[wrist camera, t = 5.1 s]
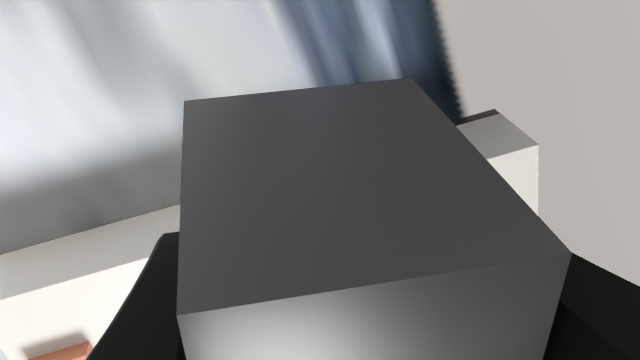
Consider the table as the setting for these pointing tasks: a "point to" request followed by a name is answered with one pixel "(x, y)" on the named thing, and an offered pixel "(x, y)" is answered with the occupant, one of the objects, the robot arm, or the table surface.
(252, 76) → the table surface
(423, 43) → the table surface
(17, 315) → the power strip
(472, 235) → the block
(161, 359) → the robot arm
